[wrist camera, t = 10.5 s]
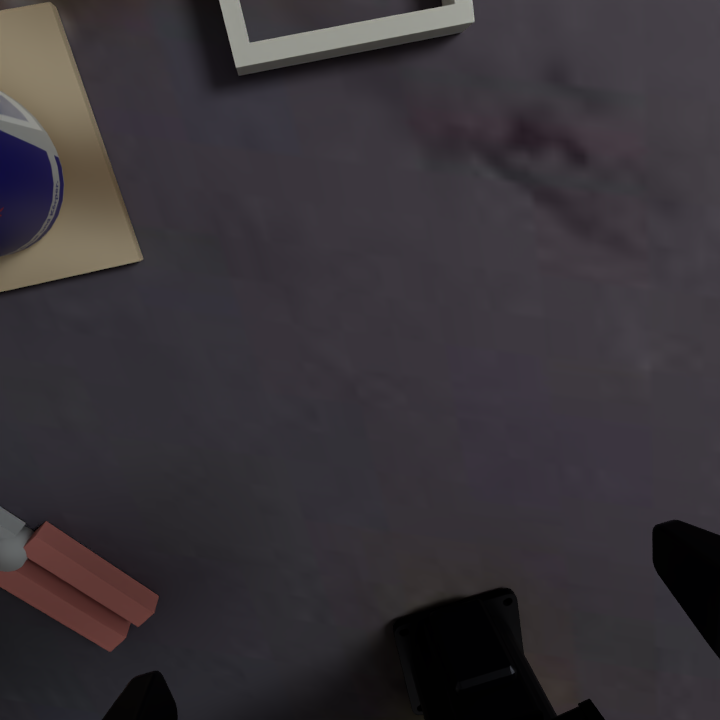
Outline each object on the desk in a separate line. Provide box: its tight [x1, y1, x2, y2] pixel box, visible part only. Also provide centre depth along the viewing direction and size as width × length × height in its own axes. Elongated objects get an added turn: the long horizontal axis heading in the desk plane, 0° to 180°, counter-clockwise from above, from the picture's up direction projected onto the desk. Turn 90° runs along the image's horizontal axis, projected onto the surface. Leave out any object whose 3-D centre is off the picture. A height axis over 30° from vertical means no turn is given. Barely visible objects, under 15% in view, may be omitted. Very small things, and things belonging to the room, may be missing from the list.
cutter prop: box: [0, 507, 159, 652], centre depth 21 cm, size 10×3×1 cm, turn 41°
